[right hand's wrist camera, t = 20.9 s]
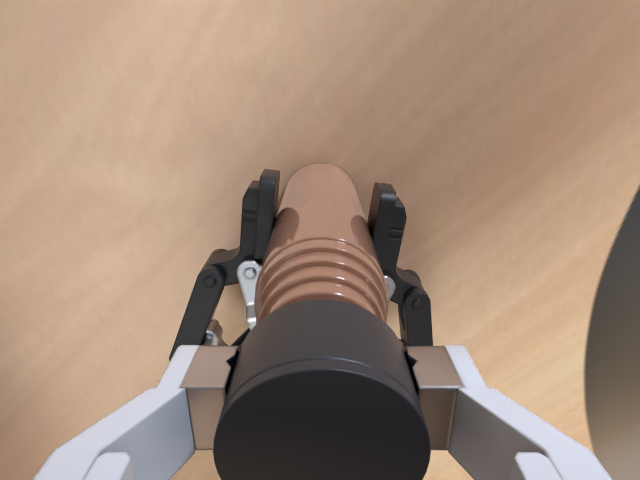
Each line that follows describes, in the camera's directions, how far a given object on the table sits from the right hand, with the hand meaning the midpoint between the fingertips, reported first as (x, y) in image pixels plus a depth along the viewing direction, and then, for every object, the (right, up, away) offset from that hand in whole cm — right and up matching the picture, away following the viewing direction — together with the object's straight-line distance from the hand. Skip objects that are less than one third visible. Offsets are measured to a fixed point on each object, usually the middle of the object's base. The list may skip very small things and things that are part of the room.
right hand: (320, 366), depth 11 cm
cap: (0, -1, -2) cm, 2 cm away
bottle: (0, +6, +15) cm, 16 cm away
